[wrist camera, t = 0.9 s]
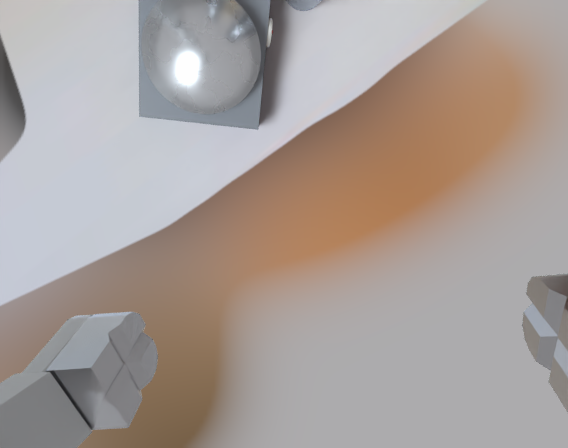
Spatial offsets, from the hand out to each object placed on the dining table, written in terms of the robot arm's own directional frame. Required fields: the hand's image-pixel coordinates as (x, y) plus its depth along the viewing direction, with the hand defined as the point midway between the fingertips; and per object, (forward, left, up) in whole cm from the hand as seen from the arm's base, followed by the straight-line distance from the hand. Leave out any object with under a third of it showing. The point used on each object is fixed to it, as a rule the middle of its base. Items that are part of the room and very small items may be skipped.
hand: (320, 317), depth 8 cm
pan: (-8, -5, -33) cm, 34 cm away
